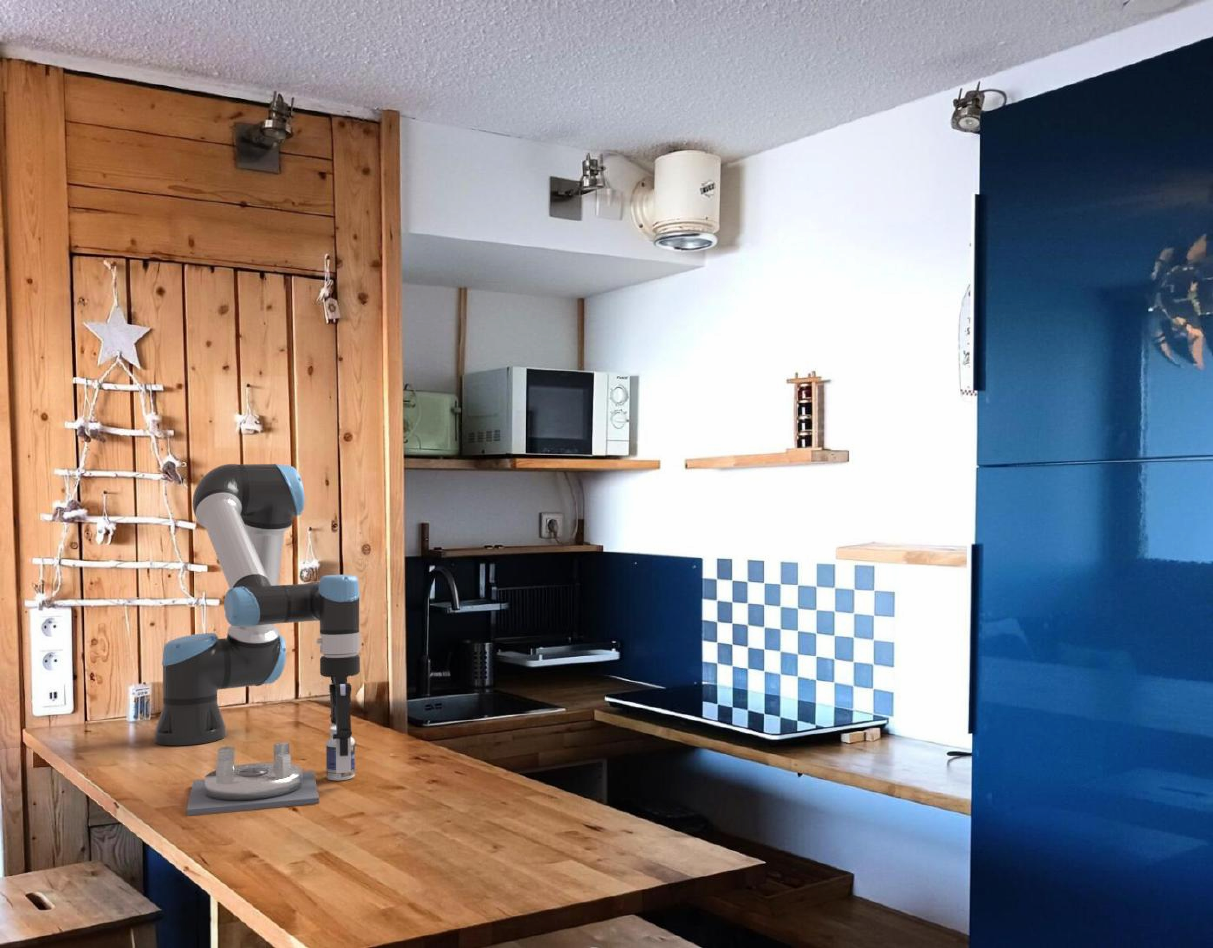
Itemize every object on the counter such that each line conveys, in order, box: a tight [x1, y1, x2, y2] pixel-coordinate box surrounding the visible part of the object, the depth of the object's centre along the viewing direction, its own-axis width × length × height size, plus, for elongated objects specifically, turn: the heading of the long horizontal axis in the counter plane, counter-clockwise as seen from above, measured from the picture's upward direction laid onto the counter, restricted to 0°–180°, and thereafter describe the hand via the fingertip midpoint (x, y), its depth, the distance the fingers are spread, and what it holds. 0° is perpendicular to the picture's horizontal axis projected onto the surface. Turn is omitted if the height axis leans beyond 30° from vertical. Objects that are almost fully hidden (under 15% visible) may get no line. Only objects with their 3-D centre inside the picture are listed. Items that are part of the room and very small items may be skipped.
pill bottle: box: [325, 726, 356, 782], centre depth 213 cm, size 5×5×10 cm
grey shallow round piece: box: [204, 742, 303, 800], centre depth 202 cm, size 17×17×6 cm
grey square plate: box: [186, 770, 320, 817], centre depth 202 cm, size 21×22×1 cm
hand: (340, 764), depth 213 cm, fingers open, 13 cm apart
